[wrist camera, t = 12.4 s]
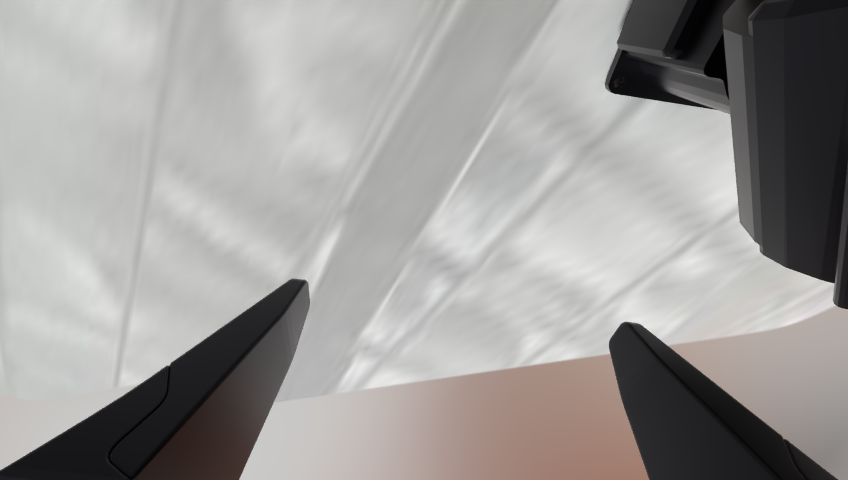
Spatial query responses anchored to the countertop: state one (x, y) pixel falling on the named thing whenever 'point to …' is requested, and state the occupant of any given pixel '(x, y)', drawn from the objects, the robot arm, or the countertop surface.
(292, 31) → the countertop surface
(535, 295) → the countertop surface
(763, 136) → the robot arm
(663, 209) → the countertop surface
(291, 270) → the countertop surface
